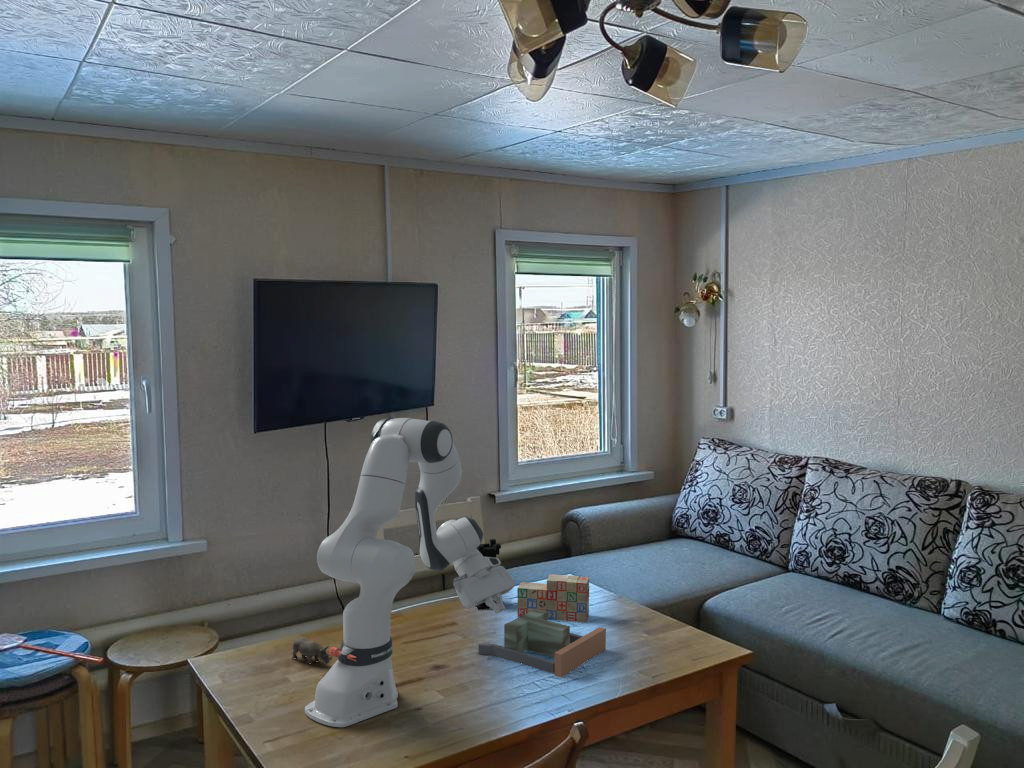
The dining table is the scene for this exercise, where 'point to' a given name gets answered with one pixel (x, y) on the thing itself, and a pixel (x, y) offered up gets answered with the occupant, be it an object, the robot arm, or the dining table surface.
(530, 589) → the stack of blocks
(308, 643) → the rhino figurine
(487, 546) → the chess piece
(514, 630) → the T block
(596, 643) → the bay
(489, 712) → the dining table surface
